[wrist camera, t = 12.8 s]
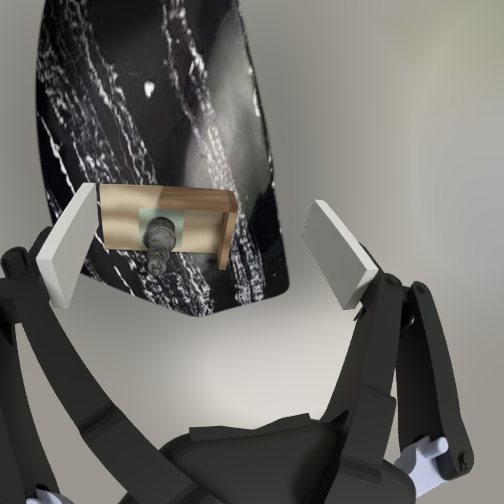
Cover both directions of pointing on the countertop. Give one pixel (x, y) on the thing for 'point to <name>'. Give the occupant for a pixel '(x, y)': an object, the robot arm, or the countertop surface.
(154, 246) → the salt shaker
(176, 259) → the countertop surface
